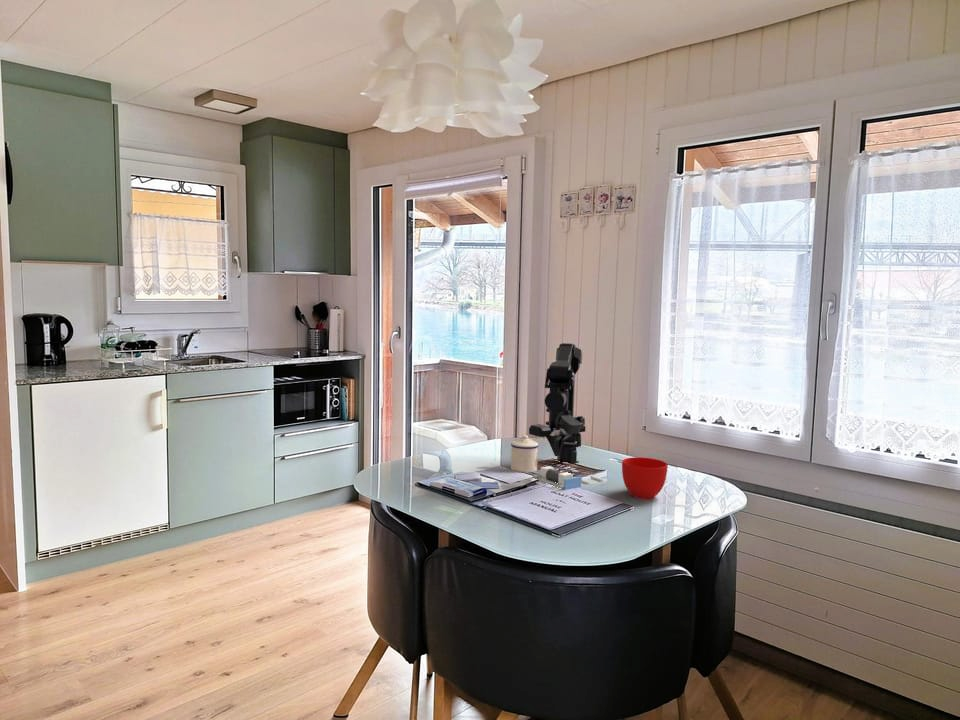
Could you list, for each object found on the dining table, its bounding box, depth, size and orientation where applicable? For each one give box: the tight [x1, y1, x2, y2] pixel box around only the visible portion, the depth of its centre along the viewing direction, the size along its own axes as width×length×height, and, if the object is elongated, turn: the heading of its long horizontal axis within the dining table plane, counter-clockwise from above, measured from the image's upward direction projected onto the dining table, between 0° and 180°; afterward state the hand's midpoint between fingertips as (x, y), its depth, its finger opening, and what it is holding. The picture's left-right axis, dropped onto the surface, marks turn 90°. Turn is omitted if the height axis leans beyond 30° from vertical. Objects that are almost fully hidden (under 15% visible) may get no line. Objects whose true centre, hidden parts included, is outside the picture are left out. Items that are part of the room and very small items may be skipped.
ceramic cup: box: [621, 456, 668, 500], centre depth 201 cm, size 13×17×10 cm
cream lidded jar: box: [510, 434, 539, 473], centre depth 226 cm, size 12×9×12 cm
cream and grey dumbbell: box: [539, 465, 573, 486], centre depth 210 cm, size 11×4×4 cm, turn 35°
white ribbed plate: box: [532, 469, 609, 492], centre depth 213 cm, size 15×22×3 cm
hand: (556, 455), depth 209 cm, fingers closed
